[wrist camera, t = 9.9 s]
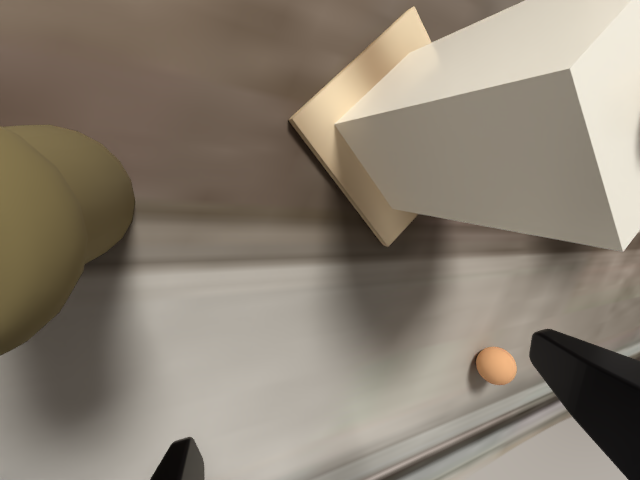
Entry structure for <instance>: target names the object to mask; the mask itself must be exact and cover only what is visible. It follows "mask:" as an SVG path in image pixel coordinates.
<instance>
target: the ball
mask: <svg viewBox="0 0 640 480" xmlns="http://www.w3.org/2000/svg"><path fill="white" fill-rule="evenodd" d="M476 366H477V370H478V372H479V374H480V375H481V376H482V377H483V378H484V379H485V380H486V381H488V382H489V383H492V384H495V385H504V384H507V383H509V382H511V381H512V380H513V379H514V377H515V375H516V372H517V367H516V363H515V360H514V358H513V357H512V356H511V355H510V354H509V353H508V352H507V351H506V350H504V349H502V348H499V347H488V348H485V349H483V350H482V351H481V352H480V353H479V354H478V356H477V359H476Z"/></svg>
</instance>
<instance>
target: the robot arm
mask: <svg viewBox="0 0 640 480" xmlns="http://www.w3.org/2000/svg"><path fill="white" fill-rule="evenodd" d="M529 357H530V360H531V362H532V364H533V366H534V367H535V368H536V369H537V371H538V372H539V373H540V375H541V376H542V377H543V379H544V380H545V381H546V383H547V384H548V385H549V387H550V388H551V389H552V391H553V392H554V393H555V395H556V396H557V397H558V399H559V400H560V401H561V403H562V404H563V405H564V407H565V408H566V409H567V410H568V412H569V413H570V414H571V415H572V417H573V418H574V419H575V420H576V421H577V422H578V424H579V425H580V426H581V427H582V428H583V429H584V430H585V432H586V433H587V434H588V435H589V436H590V437H591V438H592V439H593V440H594V441H595V443H596V444H597V445H598V446H599V447H600V448H601V449H602V451H603V452H604V453H605V454H606V455H607V456H608V457H609V458H610V459H611V461H613V463H614V464H615V465H616V466H617V467H618V468H619V470H620V471H621V472H622V473H623V474H624V475H625V476H626V477H627V479H628V480H640V361H638V360H635V359H633V358H630V357H627V356H624V355H621V354H619V353H616V352H613V351H610V350H607V349H605V348H602V347H599V346H596V345H594V344H591V343H588V342H585V341H582V340H580V339H577V338H574V337H571V336H569V335H566V334H563V333H560V332H557V331H555V330H552V329H544V330H541V331H538V332H535V333H534V334H533V335H532V340H531V346H530V353H529ZM150 480H204V462H203V458H202V456H201V454H200V452H199V449H198V447H197V445H196V443H195V441H194V439H193V438H192V437H187V438H184V439H180V440H177V441H175V442H173V443H172V444H171V446H170V447H169V449H168V451H167V452H166V454H165V456H164V457H163V459H162V461H161V462H160V464H159V466H158V467H157V469H156V471H155V472H154V474H153V476H152V477H151V479H150Z"/></svg>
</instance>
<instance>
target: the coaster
mask: <svg viewBox="0 0 640 480" xmlns="http://www.w3.org/2000/svg"><path fill="white" fill-rule="evenodd" d="M430 43H431V41H430V38H429V36H428V34H427V32H426V30H425V28H424V26H423V24H422V22H421V20H420V17H419V15H418V13H417V11H416V9H415V7H414V6H413V7H412V8H410V9H409V10H407V11H406V12H405V13H404V14H403V15H402V16H401V17H399V18H398V19H397V20H396V21H395V22H394V23H393V24H392V25H391V26H390V27H389V28H388V29H386V30H385V31H384V32H383V33H382V34H381V35H380V36H379V37H378V38H377V39H376V40H374V41H373V42H372V43H371V44H370V45H369V46H368V47H367V48H366V49H365V50H364V51H363V52H361V53H360V54H359V55H358V56H357V57H356V58H355V59H354V60H353V61H352V62H351V63H349V64H348V65H347V66H346V67H345V68H344V69H343V70H342V71H341V72H340V73H339V74H338V75H336V76H335V77H334V78H333V79H332V80H331V81H330V82H329V83H328V84H327V85H326V86H324V87H323V88H322V89H321V90H320V91H319V92H318V93H317V94H316V95H315V96H314V97H313V98H311V99H310V100H309V101H308V102H307V103H306V104H305V105H304V106H303V107H302V108H301V109H299V110H298V111H297V112H296V113H295V114H294V115H293V116H292V117H291V118H290V119H289V120H288V121H289V122H290V123H291V125H292V126H293V127H294V129H295V130H296V131H297V132H298V134H299V135H300V136H301V138H302V139H303V140H304V142H305V143H306V144H307V146H308V147H309V148H310V150H311V151H312V152H313V154H314V155H315V156H316V158H317V159H318V160H319V161H320V163H321V164H322V165H323V167H324V168H325V169H326V171H327V172H328V173H329V175H330V176H331V177H332V179H333V180H334V181H335V183H336V184H337V185H338V187H339V188H340V189H341V191H342V192H343V193H344V194H345V196H346V197H347V198H348V200H349V201H350V202H351V204H352V205H353V206H354V208H355V209H356V210H357V212H358V213H359V214H360V216H361V217H362V218H363V220H364V221H365V222H366V224H367V225H368V226H369V227H370V229H371V230H372V231H373V233H374V234H375V235H376V237H377V238H378V239H379V241H380V242H381V243H382V245H384V246H387V247H389V246H390V244H391V243H392V242H393V241H394V240H395V239H396V238H397V237H398V236H399V235H400V234H401V232H402V231H403V230H404V229H405V228H406V227H407V226H408V225H409V224H410V223H411V221H412V220H413V219H414V218H415V217H416V216H417V215H418V214H417V213H412V212H406V211H401V210H396V209H392V208H391V206H390V205H389V203H388V202H387V200H386V199H385V197H384V196H383V195H382V193H381V192H380V190H379V189H378V187H377V186H376V184H375V183H374V181H373V180H372V179H371V177H370V176H369V174H368V173H367V171H366V170H365V168H364V167H363V165H362V164H361V162H360V161H359V160H358V158H357V157H356V155H355V154H354V152H353V151H352V149H351V148H350V146H349V145H348V144H347V142H346V141H345V139H344V138H343V136H342V135H341V133H340V132H339V130H338V129H337V127H336V126H335V125H334V124H335V123H336V122H337V121H338V120H339V119H340V118H341V117H342V116H343V115H344V114H346V113H347V112H348V111H349V110H350V109H351V108H352V107H353V106H354V105H355V104H356V103H357V102H358V101H359V100H360V99H361V98H362V97H363V96H364V95H366V94H367V93H368V92H369V91H370V90H371V89H372V88H373V87H374V86H375V85H376V84H377V83H378V82H379V81H380V80H381V79H382V78H383V77H385V76H386V75H387V74H388V73H389V72H390V71H391V70H392V69H393V68H394V67H395V66H396V65H397V64H398V63H399V62H400V61H401V60H402V59H403V58H405V57H406V56H407V55H408V54H409V53H410V52H412V51H415V50H417V49H419V48H421V47H423V46H426V45H428V44H430Z"/></svg>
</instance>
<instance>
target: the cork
mask: <svg viewBox="0 0 640 480" xmlns="http://www.w3.org/2000/svg"><path fill="white" fill-rule="evenodd" d="M134 205H135V198H134V193H133V188H132V183H131V180H130V178H129V176H128V175H127V173H126V171H125V170H124V168H123V166H122V164H121V163H120V161H119V160H118V159H117V158H116V157H115V156H114V155H113V154H111V153H110V152H109V151H108V150H107V149H106V148H105V147H104V146H103V145H102V144H100V143H98V142H96V141H95V140H93V139H91V138H89V137H87V136H85V135H83V134H81V133H79V132H78V131H74V130H69V129H65V128H61V127H57V126H53V125H20V126H9V127H1V126H0V355H2V354H4V353H6V352H8V351H10V350H12V349H14V348H16V347H18V346H20V345H21V344H23V343H25V342H27V341H28V340H29V339H30V338H31V337H32V336H34V335H35V334H36V333H37V332H38V331H39V330H40V329H41V328H43V327H44V326H45V325H46V324H47V323H48V322H49V321H50V320H51V319H53V318H54V317H55V316H56V315H57V314H58V313H59V312H60V311H61V309H62V307H63V306H64V304H65V303H66V301H67V299H68V297H69V296H70V294H71V292H72V290H73V288H74V287H75V285H76V283H77V281H78V280H79V278H80V276H81V274H82V273H83V270H84V264H86V263H88V262H89V261H91V260H93V259H95V258H97V257H99V256H100V255H102V254H104V253H106V252H107V251H108V250H109V249H110V248H112V247H113V246H114V245H115V244H116V243H117V242H118V241H119V240H121V239H122V238H123V236H124V234H125V232H126V230H127V229H128V227H129V225H130V223H131V222H132V218H133V211H134Z"/></svg>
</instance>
